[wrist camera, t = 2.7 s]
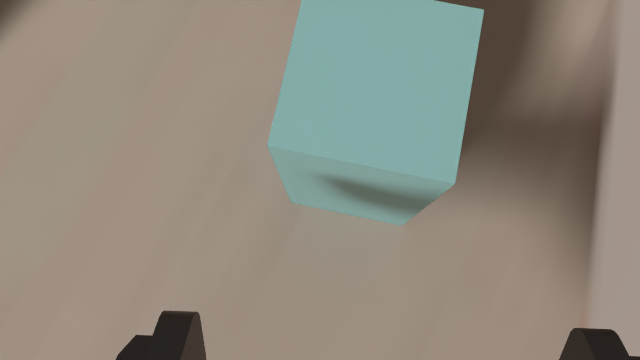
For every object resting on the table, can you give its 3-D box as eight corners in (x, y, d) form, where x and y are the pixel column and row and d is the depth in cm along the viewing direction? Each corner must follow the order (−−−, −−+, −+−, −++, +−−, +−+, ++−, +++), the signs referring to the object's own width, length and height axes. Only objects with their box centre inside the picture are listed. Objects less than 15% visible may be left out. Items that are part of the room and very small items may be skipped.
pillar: (291, 202, 24) (267, 145, 14) (314, 97, 25) (307, -24, 15) (402, 225, 24) (455, 183, 14) (421, 118, 25) (484, 9, 15)
